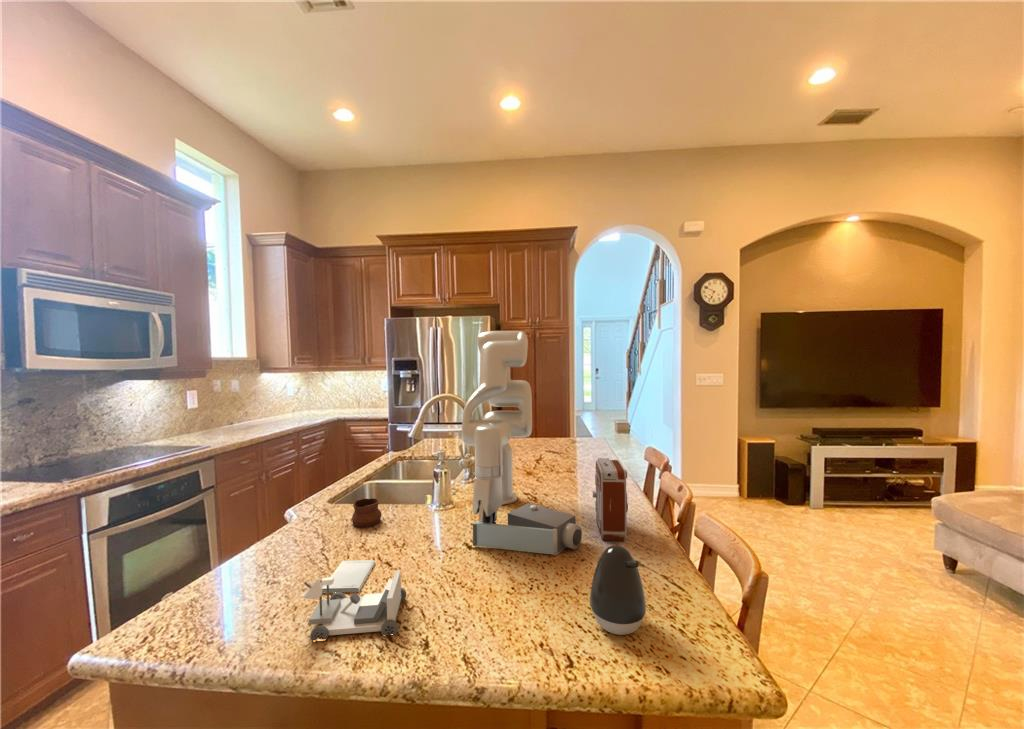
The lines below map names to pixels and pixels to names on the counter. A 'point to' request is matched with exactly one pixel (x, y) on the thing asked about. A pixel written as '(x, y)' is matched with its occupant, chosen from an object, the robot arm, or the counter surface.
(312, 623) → the toy car
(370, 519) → the ceramic pot
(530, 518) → the block
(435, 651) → the counter surface
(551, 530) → the side door
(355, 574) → the hard drive
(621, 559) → the dark grey egg-shaped piece
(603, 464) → the cine camera
